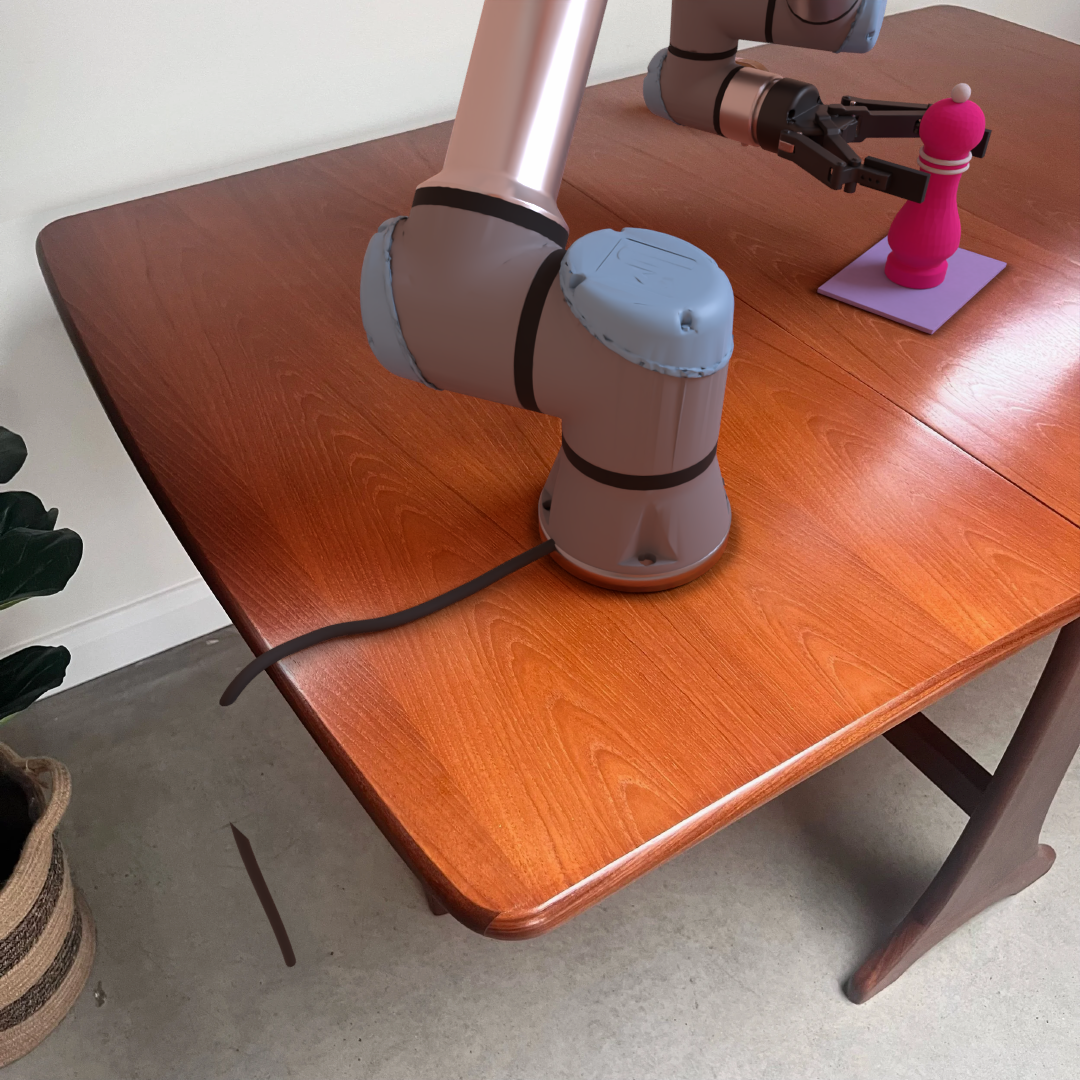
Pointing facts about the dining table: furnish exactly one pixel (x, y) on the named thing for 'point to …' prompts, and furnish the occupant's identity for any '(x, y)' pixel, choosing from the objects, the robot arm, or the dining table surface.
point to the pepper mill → (935, 193)
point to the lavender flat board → (907, 305)
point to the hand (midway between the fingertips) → (957, 166)
